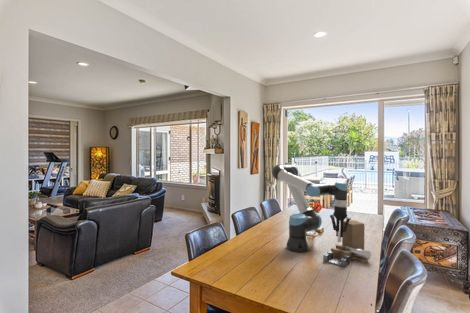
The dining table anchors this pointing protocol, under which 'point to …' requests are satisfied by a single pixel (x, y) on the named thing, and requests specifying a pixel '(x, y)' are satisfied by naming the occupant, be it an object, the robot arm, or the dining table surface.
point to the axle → (358, 252)
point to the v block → (336, 259)
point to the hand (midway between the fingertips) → (339, 241)
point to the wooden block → (354, 235)
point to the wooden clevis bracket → (341, 252)
